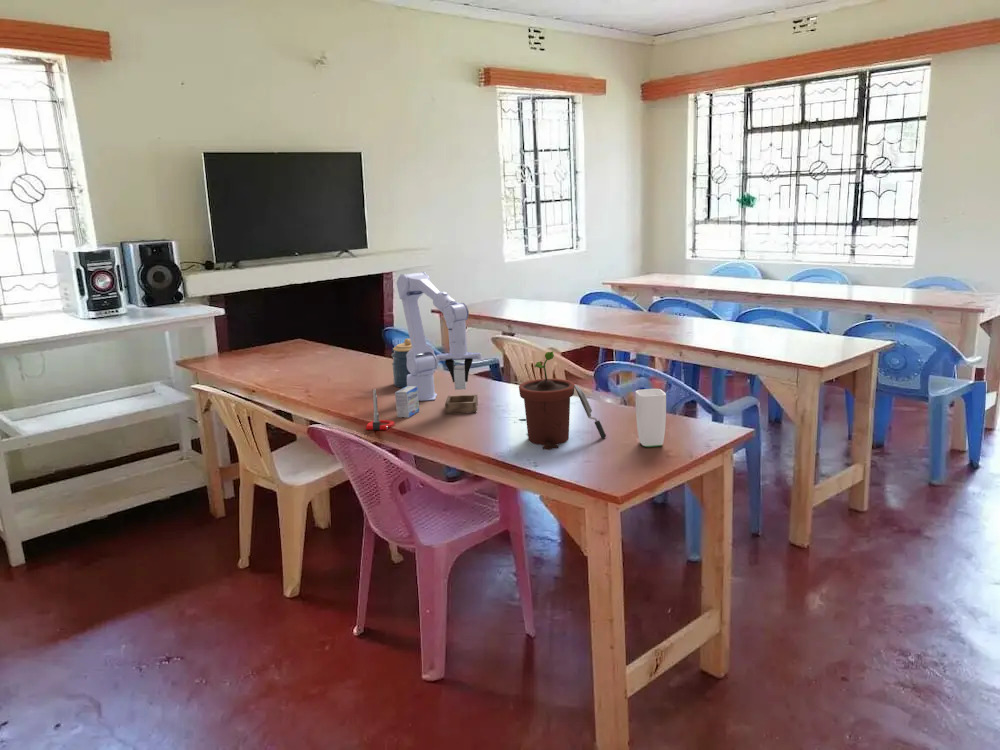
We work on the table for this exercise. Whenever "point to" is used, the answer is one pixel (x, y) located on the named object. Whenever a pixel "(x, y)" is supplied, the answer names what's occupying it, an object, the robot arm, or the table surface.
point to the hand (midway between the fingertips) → (460, 381)
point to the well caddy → (461, 404)
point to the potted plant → (551, 409)
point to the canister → (401, 363)
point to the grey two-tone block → (459, 377)
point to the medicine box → (407, 401)
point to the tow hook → (377, 423)
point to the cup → (651, 416)
